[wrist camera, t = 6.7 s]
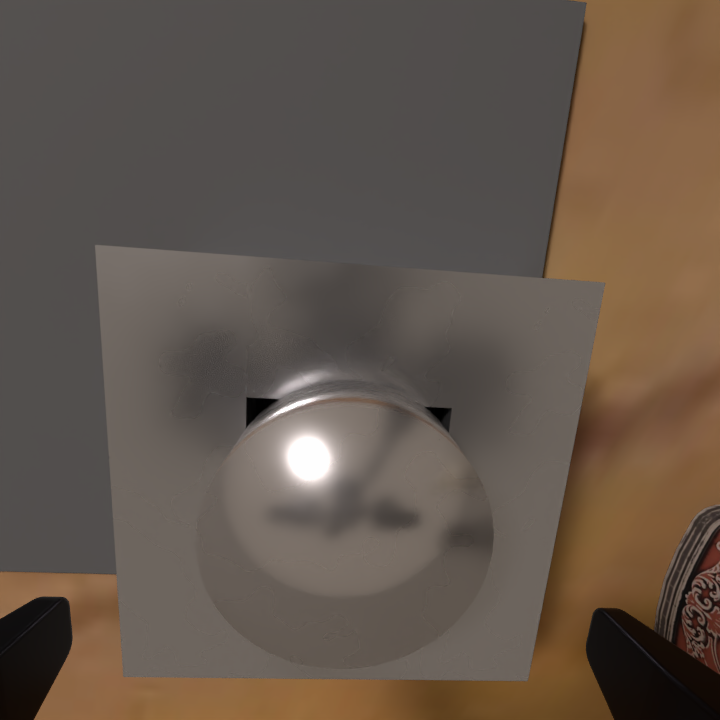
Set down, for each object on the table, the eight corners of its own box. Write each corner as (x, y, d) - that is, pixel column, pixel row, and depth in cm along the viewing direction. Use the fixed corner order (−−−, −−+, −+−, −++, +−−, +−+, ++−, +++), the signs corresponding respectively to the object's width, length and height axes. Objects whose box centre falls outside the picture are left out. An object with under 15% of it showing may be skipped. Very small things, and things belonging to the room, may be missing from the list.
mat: (579, 11, 13) (586, 2, 13) (489, 577, 17) (492, 583, 17) (-122, -72, 12) (-138, -84, 11) (-27, 563, 16) (-36, 570, 16)
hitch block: (515, 281, 14) (605, 282, 9) (473, 563, 17) (527, 681, 12) (184, 257, 14) (94, 244, 9) (190, 555, 16) (123, 677, 11)
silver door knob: (436, 354, 14) (513, 414, 8) (419, 509, 15) (473, 670, 9) (261, 343, 14) (193, 397, 7) (258, 504, 15) (197, 667, 9)
